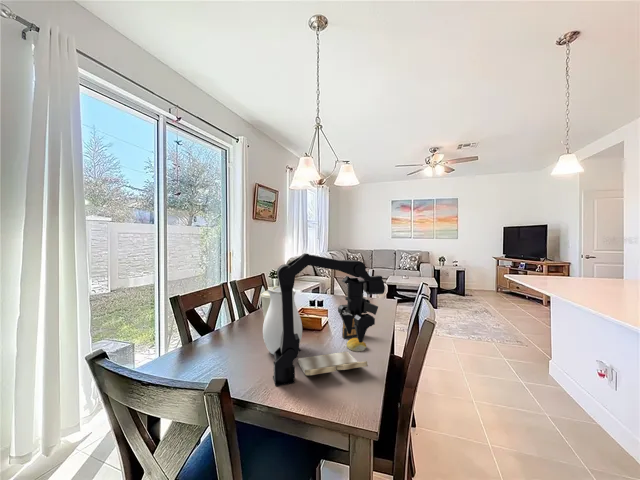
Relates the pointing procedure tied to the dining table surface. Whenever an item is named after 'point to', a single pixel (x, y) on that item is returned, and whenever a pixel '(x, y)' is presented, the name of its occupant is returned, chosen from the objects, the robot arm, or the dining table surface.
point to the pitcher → (278, 321)
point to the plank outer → (351, 365)
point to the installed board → (325, 361)
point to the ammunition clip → (345, 333)
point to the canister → (266, 300)
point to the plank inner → (320, 370)
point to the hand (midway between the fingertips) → (354, 337)
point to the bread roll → (356, 345)
